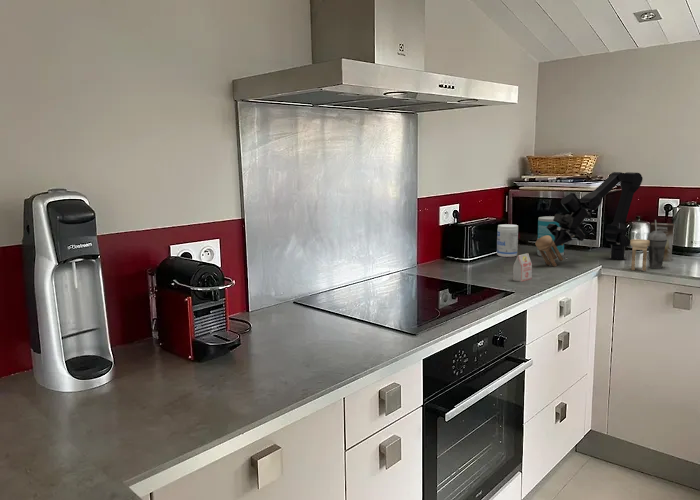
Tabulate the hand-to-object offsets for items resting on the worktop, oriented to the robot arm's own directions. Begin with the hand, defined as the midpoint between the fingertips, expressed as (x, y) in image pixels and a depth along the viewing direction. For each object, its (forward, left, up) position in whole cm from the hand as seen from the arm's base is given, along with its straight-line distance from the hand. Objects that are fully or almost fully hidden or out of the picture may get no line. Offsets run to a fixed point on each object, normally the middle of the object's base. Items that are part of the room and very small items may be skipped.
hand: (553, 246), depth 242 cm
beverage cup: (-8, +40, -9) cm, 41 cm away
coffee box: (-28, +42, -9) cm, 51 cm away
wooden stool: (-1, +1, -7) cm, 7 cm away
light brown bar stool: (-2, +33, -8) cm, 34 cm away
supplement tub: (-19, -23, -9) cm, 31 cm away
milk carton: (+32, -8, -9) cm, 34 cm away
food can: (-26, -4, -9) cm, 28 cm away
